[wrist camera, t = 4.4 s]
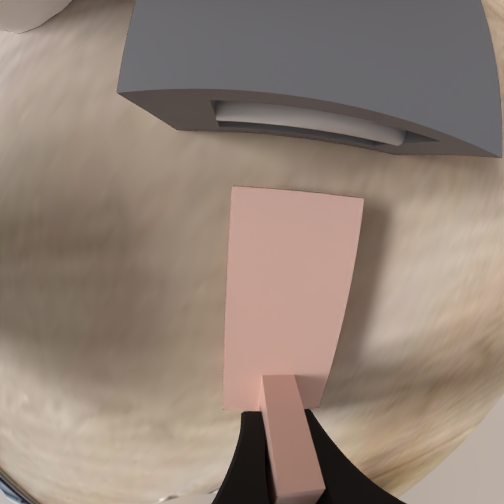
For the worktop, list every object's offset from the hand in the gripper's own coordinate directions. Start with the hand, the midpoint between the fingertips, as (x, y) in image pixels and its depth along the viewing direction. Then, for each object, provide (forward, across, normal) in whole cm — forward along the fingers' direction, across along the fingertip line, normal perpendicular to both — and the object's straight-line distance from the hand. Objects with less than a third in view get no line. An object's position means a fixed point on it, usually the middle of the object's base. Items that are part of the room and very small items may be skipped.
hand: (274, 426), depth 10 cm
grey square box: (+2, 0, -14) cm, 15 cm away
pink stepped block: (+1, 0, -3) cm, 4 cm away
